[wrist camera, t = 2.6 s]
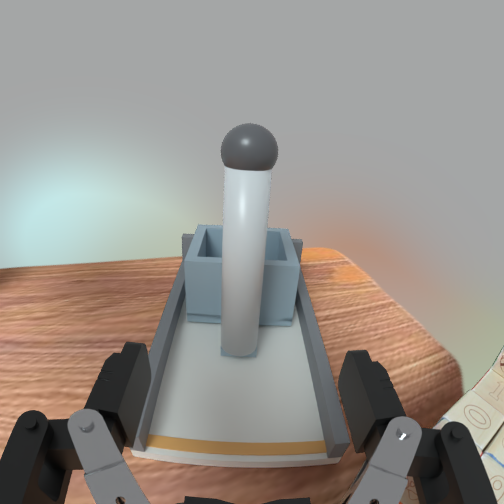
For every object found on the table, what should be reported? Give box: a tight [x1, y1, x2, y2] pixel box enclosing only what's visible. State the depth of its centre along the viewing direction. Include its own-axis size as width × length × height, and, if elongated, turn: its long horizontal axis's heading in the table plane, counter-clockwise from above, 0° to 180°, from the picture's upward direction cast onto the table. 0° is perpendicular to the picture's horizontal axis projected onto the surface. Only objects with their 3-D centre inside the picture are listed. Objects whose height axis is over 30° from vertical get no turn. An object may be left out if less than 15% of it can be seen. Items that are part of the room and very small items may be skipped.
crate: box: [184, 123, 300, 357], centre depth 28 cm, size 10×15×18 cm
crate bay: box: [129, 234, 350, 468], centre depth 28 cm, size 14×25×6 cm, turn 1°
